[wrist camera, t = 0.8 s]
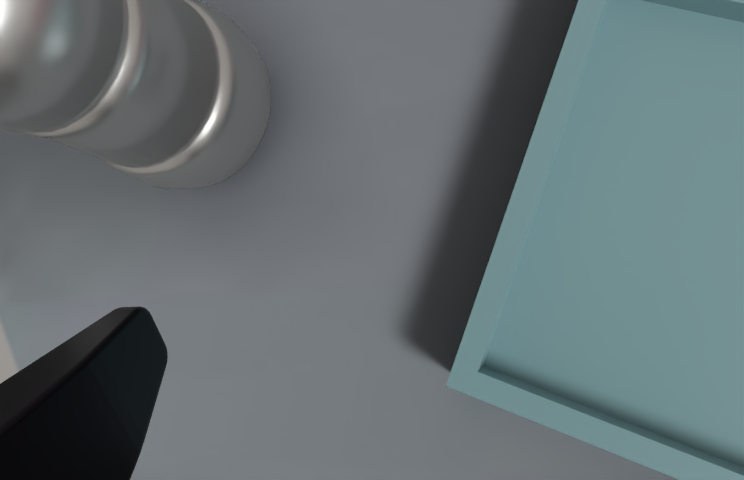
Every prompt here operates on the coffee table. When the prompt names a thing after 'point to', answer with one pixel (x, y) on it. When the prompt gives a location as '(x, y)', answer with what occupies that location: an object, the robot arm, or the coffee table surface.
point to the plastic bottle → (135, 85)
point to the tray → (627, 245)
